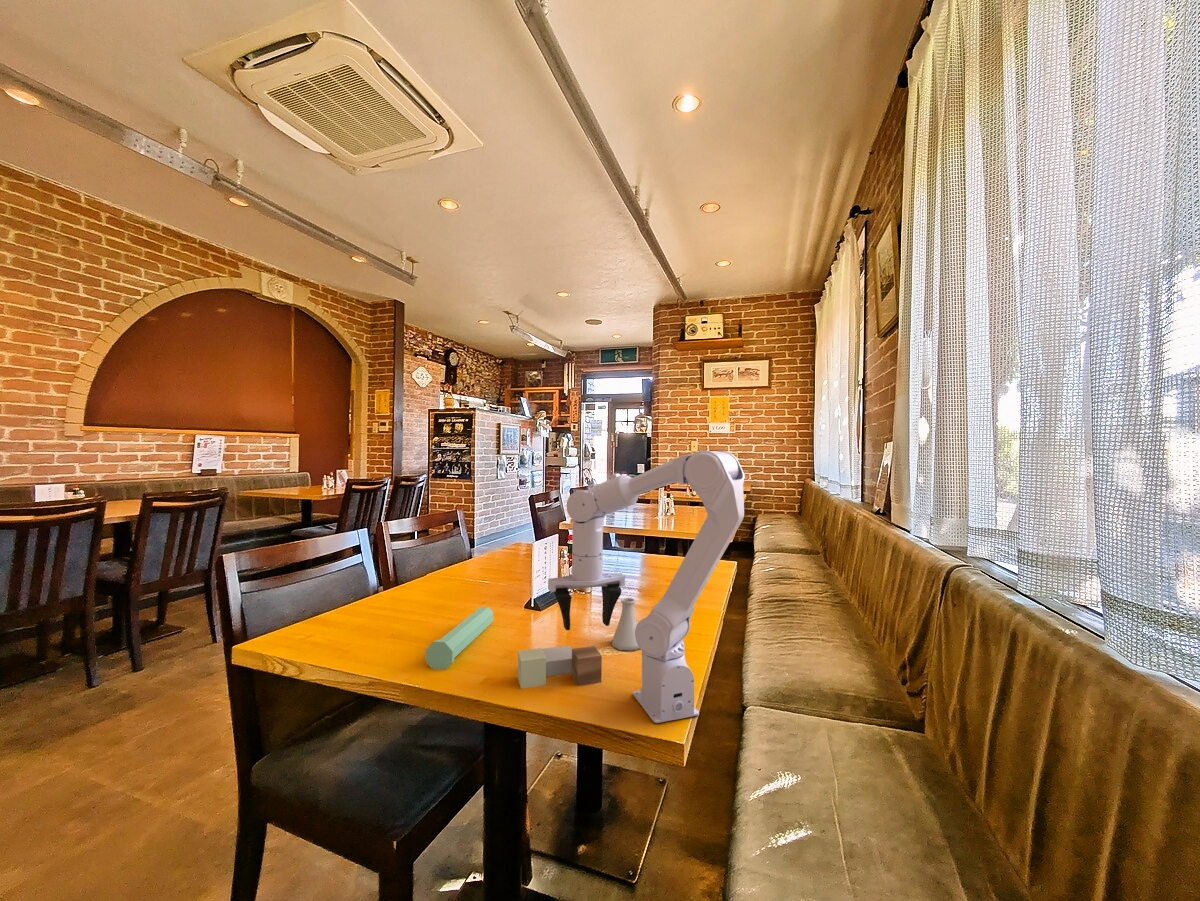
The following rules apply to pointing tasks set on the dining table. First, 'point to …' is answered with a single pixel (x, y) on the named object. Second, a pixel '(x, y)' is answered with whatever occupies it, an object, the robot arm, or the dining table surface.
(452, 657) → the green octagonal rod
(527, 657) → the sage block
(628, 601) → the flask
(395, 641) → the dining table surface
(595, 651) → the walnut block
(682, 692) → the robot arm
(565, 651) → the stone slab
